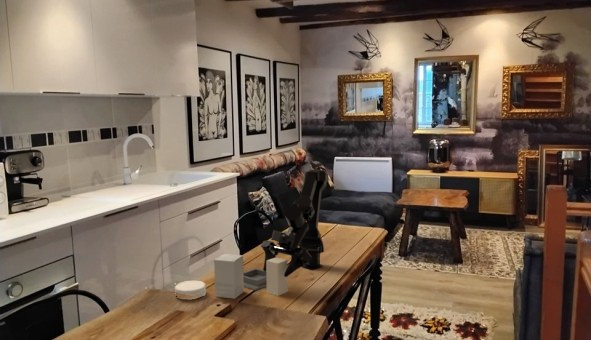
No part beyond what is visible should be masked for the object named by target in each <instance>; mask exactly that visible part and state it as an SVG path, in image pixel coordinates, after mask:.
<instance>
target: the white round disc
mask: <svg viewBox="0 0 591 340" xmlns="http://www.w3.org/2000/svg"><path fill="white" fill-rule="evenodd" d="M206 284H207V283H205V282H203V281H202V280H201V281H200V280H186V281H181V282H178V283H177V284H176V285H175V286H174V291H175V292H177V293H180V294H185V295H190V296H204V297H205V296H206V295H207V285H206ZM175 292H174V293H175Z"/></svg>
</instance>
